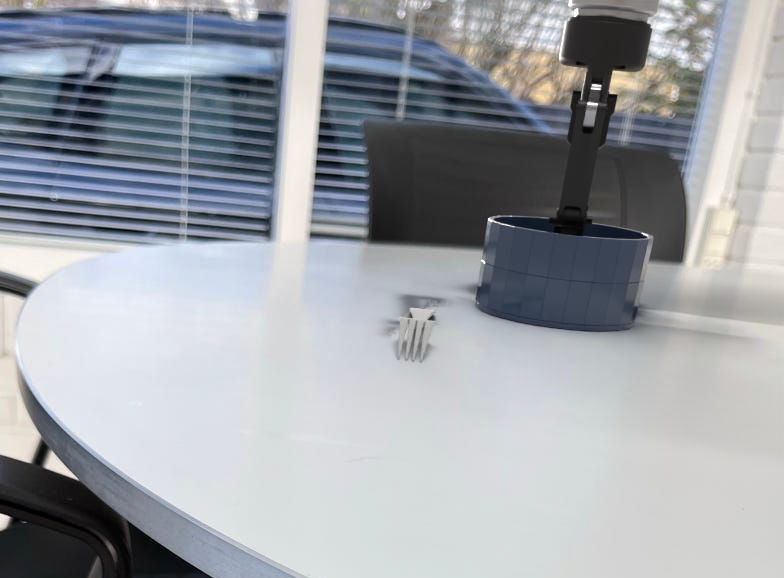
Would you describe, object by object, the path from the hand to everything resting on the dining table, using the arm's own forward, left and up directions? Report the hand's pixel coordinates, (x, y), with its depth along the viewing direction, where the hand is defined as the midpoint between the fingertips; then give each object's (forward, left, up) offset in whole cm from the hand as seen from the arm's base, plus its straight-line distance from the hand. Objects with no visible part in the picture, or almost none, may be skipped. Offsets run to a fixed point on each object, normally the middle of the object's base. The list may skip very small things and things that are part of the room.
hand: (556, 295), depth 103 cm
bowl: (0, 0, -2) cm, 2 cm away
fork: (+10, +19, -2) cm, 22 cm away
